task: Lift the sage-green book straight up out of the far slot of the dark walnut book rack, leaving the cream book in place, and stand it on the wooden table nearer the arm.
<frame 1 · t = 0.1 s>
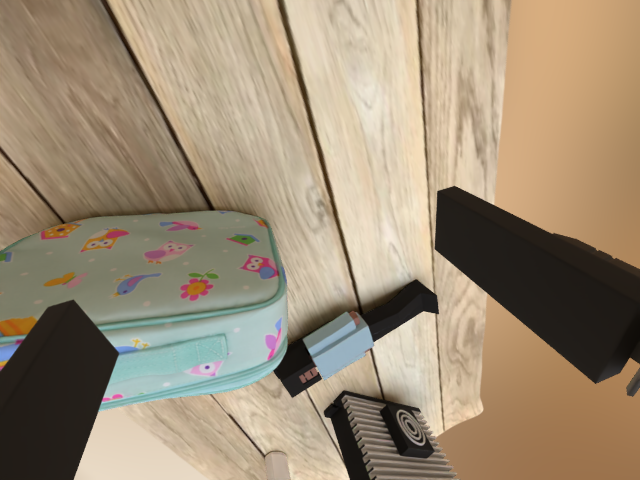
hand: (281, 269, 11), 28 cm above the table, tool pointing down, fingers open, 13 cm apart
electronic device: (378, 405, 73), on the table
eye dropper bottle: (275, 454, 71), on the table
lunch box: (165, 243, 38), on the table
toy: (347, 319, 55), on the table
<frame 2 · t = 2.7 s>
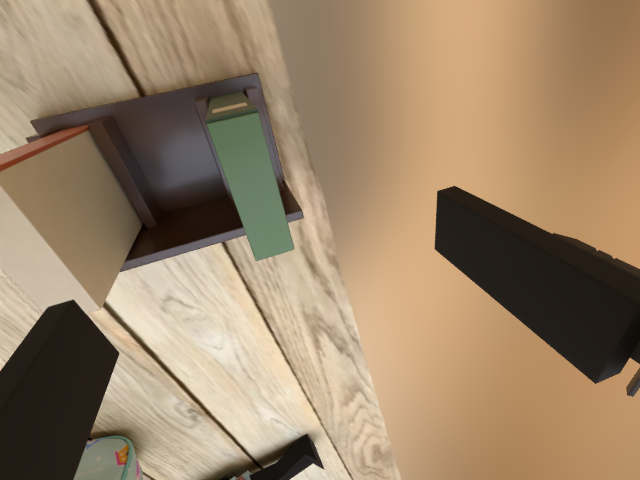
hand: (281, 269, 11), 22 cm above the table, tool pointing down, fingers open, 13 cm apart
cream book: (110, 176, 27), resting on book rack
lunch box: (44, 462, 43), on the table
green book: (241, 144, 28), point 1 cm above the table, touching book rack
book rack: (179, 156, 29), on the table
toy: (244, 470, 60), on the table
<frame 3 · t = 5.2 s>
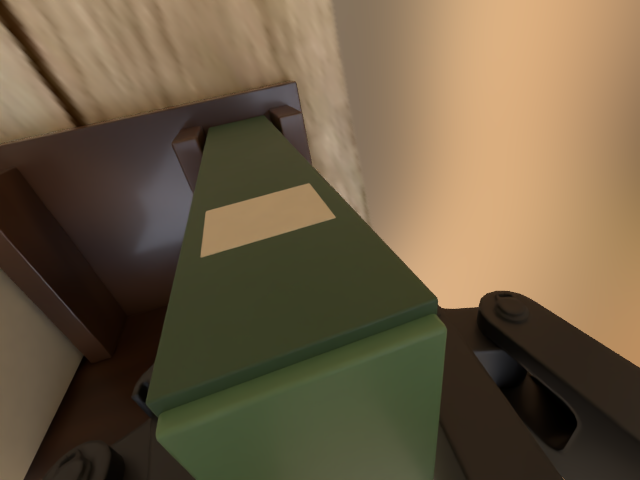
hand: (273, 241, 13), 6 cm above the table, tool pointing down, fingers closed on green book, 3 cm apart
cream book: (25, 269, 15), resting on book rack
green book: (262, 203, 16), point 1 cm above the table, touching book rack, gripper
book rack: (155, 224, 16), on the table
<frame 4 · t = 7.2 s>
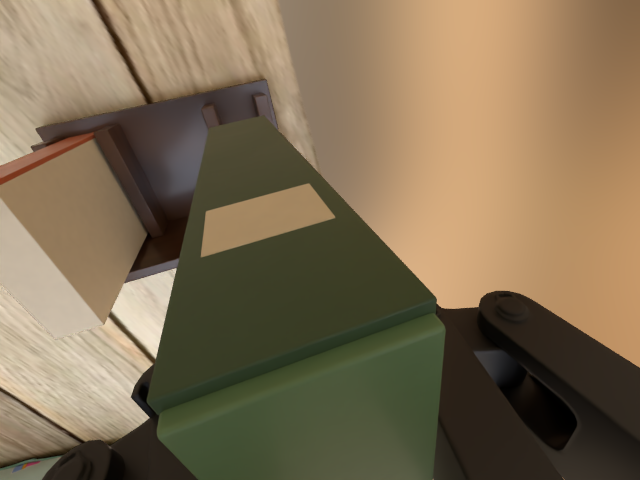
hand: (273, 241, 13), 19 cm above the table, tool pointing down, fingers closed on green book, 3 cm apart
cream book: (116, 184, 26), resting on book rack
lunch box: (46, 471, 43), on the table
green book: (262, 203, 16), point 15 cm above the table, touching gripper
book rack: (186, 164, 28), on the table
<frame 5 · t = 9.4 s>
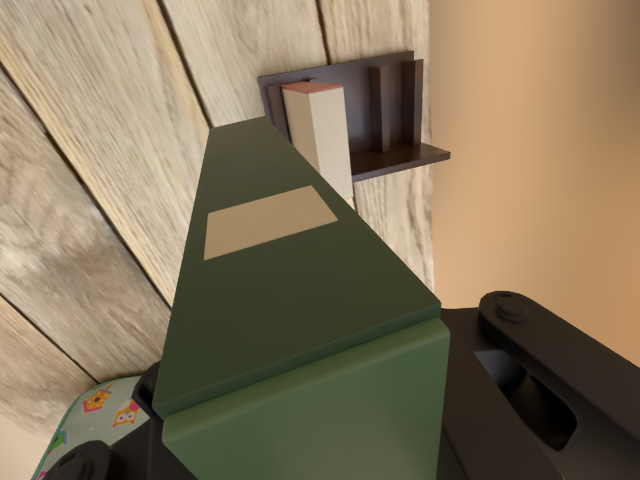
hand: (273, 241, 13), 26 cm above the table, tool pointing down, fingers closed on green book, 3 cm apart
cream book: (296, 125, 35), resting on book rack
lunch box: (170, 384, 50), on the table
green book: (262, 204, 16), point 22 cm above the table, touching gripper
book rack: (341, 114, 37), on the table
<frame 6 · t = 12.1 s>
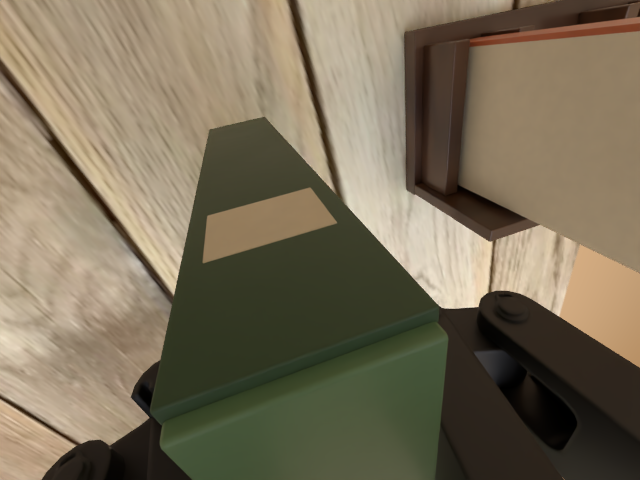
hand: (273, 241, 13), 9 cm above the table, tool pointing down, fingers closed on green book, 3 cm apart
cream book: (454, 114, 21), resting on book rack
green book: (262, 205, 16), point 5 cm above the table, touching gripper
book rack: (511, 95, 23), on the table
when the fingers open (4 cm above the table, at t = 13.7 s): green book stays where it is, on the table.
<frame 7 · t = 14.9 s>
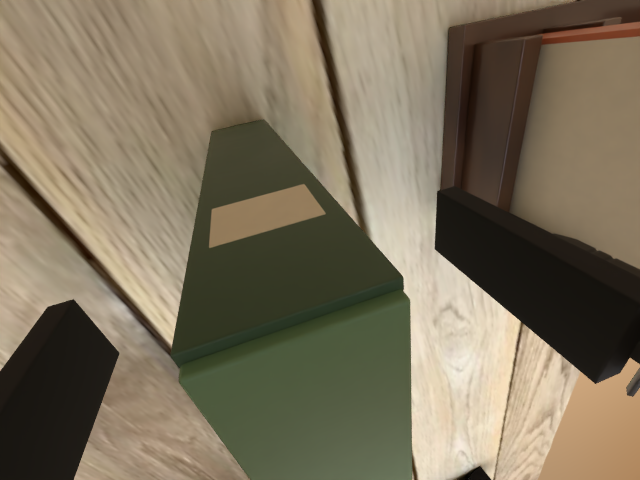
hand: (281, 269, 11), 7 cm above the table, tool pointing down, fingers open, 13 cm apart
cream book: (503, 126, 18), resting on book rack
green book: (262, 203, 17), on the table
book rack: (565, 103, 20), on the table
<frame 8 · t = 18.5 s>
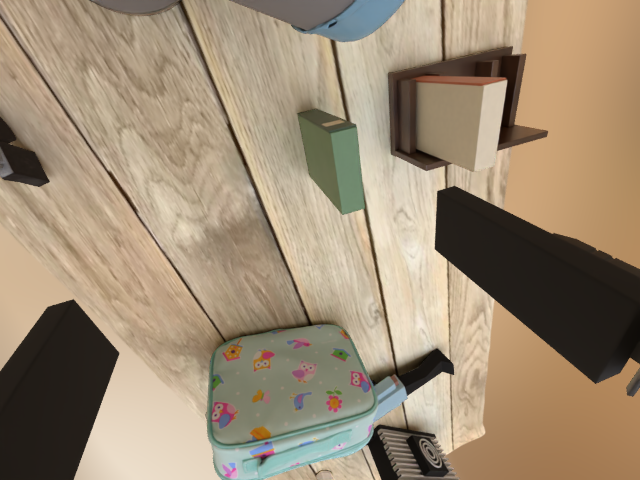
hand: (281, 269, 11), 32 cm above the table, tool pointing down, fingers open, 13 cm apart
electronic device: (403, 434, 93), on the table
cream book: (414, 112, 42), resting on book rack
eye dropper bottle: (323, 472, 90), on the table
lunch box: (278, 343, 58), on the table
dark boxy piece: (16, 144, 32), on the table
green book: (312, 144, 41), on the table
book rack: (446, 102, 43), on the table
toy: (386, 377, 75), on the table
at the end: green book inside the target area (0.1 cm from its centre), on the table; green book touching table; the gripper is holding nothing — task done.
